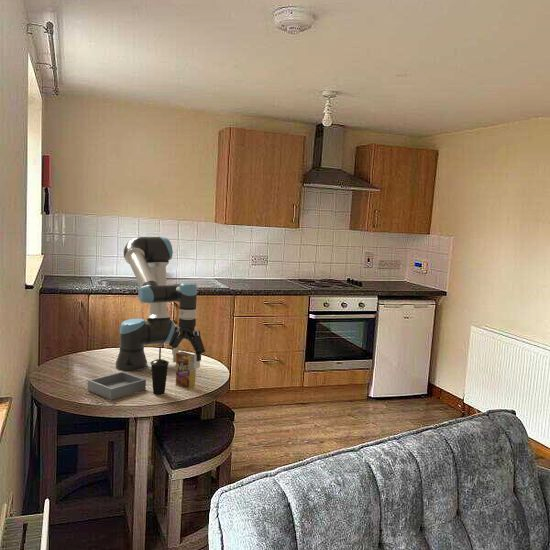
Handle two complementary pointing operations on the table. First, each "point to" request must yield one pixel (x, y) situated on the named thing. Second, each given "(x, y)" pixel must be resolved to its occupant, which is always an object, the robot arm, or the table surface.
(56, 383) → the table surface
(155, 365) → the drinking cup
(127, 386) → the tray
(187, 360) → the candy box
